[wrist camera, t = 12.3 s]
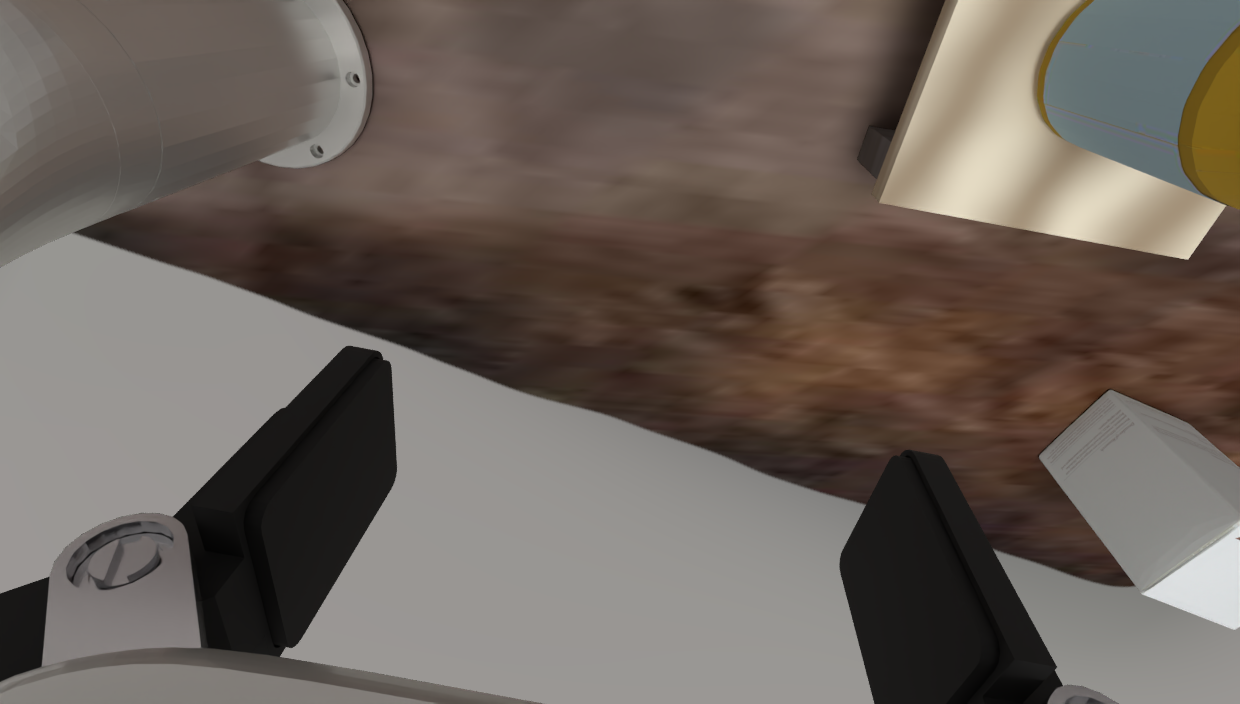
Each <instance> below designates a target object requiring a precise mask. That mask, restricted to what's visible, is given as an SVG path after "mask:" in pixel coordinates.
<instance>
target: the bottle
mask: <svg viewBox="0 0 1240 704" xmlns="http://www.w3.org/2000/svg"><path fill="white" fill-rule="evenodd" d="M1037 101H1038V104H1039V108H1040V111H1041V115H1042V118H1043V119H1044V121H1045V123H1046V124H1047V125H1048V126H1049V127H1050V129H1051V130H1052V131H1053V132H1054V133H1055V134H1056V135H1057V136H1058V137H1060V138H1062V139H1064V140H1066V141H1068V142H1070V143H1072V144H1074V145H1076V146H1078V147H1080V148H1083V149H1085V150H1088V151H1090V152H1093V153H1095V154H1098V155H1100V156H1103V157H1105V158H1108V159H1110V160H1113V161H1116V162H1118V163H1121V164H1123V165H1126V166H1128V167H1131V168H1133V169H1136V170H1138V171H1141V172H1143V173H1146V174H1148V175H1151V176H1153V177H1156V178H1158V179H1161V180H1163V181H1166V182H1168V183H1171V184H1173V185H1176V186H1178V187H1181V188H1183V189H1186V190H1188V191H1191V192H1193V193H1196V194H1198V195H1201V196H1203V197H1206V198H1208V199H1211V200H1213V201H1216V202H1218V203H1221V204H1224V205H1227V206H1231V207H1234V208H1236V209H1239V210H1240V0H1086V1H1085V2H1084V3H1083V4H1082V5H1081V6H1080V7H1079V8H1078V9H1077V10H1075V11H1074V12H1073V13H1072V14H1071V15H1070V16H1069V18H1068V19H1067V20H1066V21H1065V22H1064V24H1063V25H1062V27H1061V28H1060V30H1059V31H1058V32H1057V34H1056V35H1055V37H1054V38H1053V40H1052V41H1051V43H1050V45H1049V47H1048V49H1047V52H1046V54H1045V57H1044V59H1043V62H1042V64H1041V67H1040V71H1039V75H1038V86H1037Z"/></svg>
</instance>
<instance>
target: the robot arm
mask: <svg viewBox="0 0 1240 704" xmlns="http://www.w3.org/2000/svg"><path fill="white" fill-rule="evenodd" d="M356 75H358V76H359V79H360V82H359V81H358V80H357V78H356ZM371 101H372V71H371V66H370V60H369V55H368V51H367V48H366V46H365V43H364V40H363V37H362V34H361V31H360V29H359V27H358V25H357V23H356V22H355V20H354V18H353V16H352V14H351V12H350V10H349V8H348V7H347V6H346V4H345V3H344V2H343V0H0V268H1V267H2V266H4V265H6V264H8V263H10V262H12V261H13V260H15V259H17V258H19V257H21V256H22V255H24V254H27V253H28V252H30V251H33V250H35V249H37V248H39V247H41V246H43V245H45V244H47V243H49V242H52V241H54V240H57V239H59V238H61V237H64V236H66V235H68V234H71V233H73V232H75V231H78V230H80V229H83V228H85V227H88V226H90V225H93V224H95V223H98V222H100V221H103V220H105V219H108V218H110V217H113V216H115V215H118V214H120V213H124V212H127V211H129V210H132V209H134V208H137V207H139V206H142V205H144V204H147V203H150V202H152V201H155V200H157V199H160V198H163V197H165V196H168V195H170V194H173V193H175V192H178V191H181V190H183V189H186V188H188V187H191V186H193V185H196V184H198V183H201V182H204V181H206V180H209V179H211V178H214V177H216V176H219V175H222V174H224V173H227V172H229V171H232V170H234V169H237V168H240V167H242V166H245V165H247V164H250V163H252V162H255V161H260V162H263V163H266V164H270V165H273V166H277V167H283V168H295V169H298V168H307V167H314V166H317V165H319V164H322V163H325V162H328V161H330V160H332V159H334V158H336V157H337V156H339V155H341V154H342V153H344V152H345V151H346V150H347V149H348V148H349V147H350V146H352V145H353V144H354V142H355V141H356V139H357V138H358V137H359V135H360V134H361V132H362V131H363V128H364V126H365V123H366V121H367V118H368V116H369V112H370V107H371ZM321 148H322V149H323V150H322V149H321ZM396 472H397V461H396V442H395V424H394V407H393V388H392V370H391V364H390V362H389V361H386V360H383V357H382V354H381V353H380V352H379V351H375V350H370V349H364V348H359V347H353V346H346V347H345V348H343V349H342V350H341V351H340V352H339V353H338V354H337V355H336V356H335V357H334V358H333V360H331V362H330V363H328V365H327V366H326V367H325V368H324V369H323V370H322V371H321V372H320V373H319V374H318V375H317V376H316V377H315V378H314V379H313V380H312V381H311V382H310V383H309V384H308V385H307V386H306V387H305V388H304V389H303V390H302V391H301V392H300V393H299V394H298V395H297V397H295V399H293V401H292V402H291V403H290V404H289V405H288V406H287V407H286V408H282V409H280V410H279V411H278V412H276V413H275V414H274V415H273V416H272V417H271V418H270V419H269V420H268V421H267V422H266V423H265V424H264V425H263V426H262V427H261V428H260V429H259V430H258V431H257V432H256V433H255V434H254V435H253V436H252V437H251V438H250V439H249V440H248V441H247V442H246V443H245V444H244V445H243V446H242V447H241V448H240V449H239V450H238V451H237V452H236V453H235V454H234V455H233V456H232V457H231V458H230V459H229V460H228V461H227V462H226V463H225V464H224V465H223V466H222V468H220V469H219V470H218V471H217V472H216V474H214V476H213V477H212V478H211V479H210V480H209V481H208V482H207V483H206V484H205V485H204V486H203V487H202V488H201V489H200V490H199V491H198V492H197V493H196V494H195V495H194V496H193V497H192V498H191V499H190V500H189V501H188V502H187V503H186V504H185V505H184V506H183V507H182V508H181V509H180V510H179V511H178V512H177V513H176V514H175V515H174V516H173V517H171V516H167V515H164V514H160V513H139V514H133V515H127V516H122V517H119V518H116V519H113V520H110V521H108V522H105V523H102V524H100V525H98V526H96V527H94V528H92V529H91V530H89V531H87V532H85V533H83V534H81V535H80V536H79V537H78V538H76V539H75V540H74V541H73V542H71V543H70V544H69V545H68V546H66V547H65V549H64V550H63V551H62V553H61V554H60V555H59V556H58V557H57V559H56V560H55V561H54V564H53V567H52V570H51V573H50V577H48V578H44V579H42V580H39V581H36V582H33V583H30V584H27V585H24V586H21V587H18V588H15V589H12V590H9V591H7V592H4V593H1V594H0V704H542V703H537V702H531V701H526V700H521V699H515V698H510V697H504V696H499V695H493V694H488V693H482V692H477V691H471V690H465V689H460V688H455V687H449V686H444V685H439V684H433V683H428V682H422V681H417V680H411V679H406V678H400V677H395V676H389V675H384V674H378V673H373V672H367V671H361V670H355V669H349V668H342V667H337V666H330V665H325V664H318V663H312V662H307V661H301V660H294V659H288V658H282V657H280V655H281V654H282V652H283V651H284V649H285V647H289V648H293V647H294V646H296V644H298V642H299V641H300V640H301V638H302V637H303V635H304V633H305V632H306V630H307V628H308V627H309V625H310V623H311V622H312V620H313V618H314V617H315V615H316V613H317V612H318V610H319V608H320V607H321V605H322V603H323V602H324V600H325V598H326V596H327V595H328V593H329V591H330V590H331V588H332V586H333V585H334V583H335V582H336V580H337V578H338V577H339V575H340V573H341V572H342V570H343V568H344V566H345V565H346V563H347V562H348V560H349V558H350V557H351V555H352V553H353V552H354V550H355V548H356V547H357V545H358V543H359V542H360V540H361V538H362V537H363V535H364V533H365V531H366V530H367V528H368V527H369V525H370V523H371V522H372V520H373V518H374V516H375V515H376V513H377V511H378V510H379V508H380V507H381V505H382V503H383V502H384V500H385V498H386V497H387V495H388V493H389V492H390V490H391V488H392V486H393V484H394V481H395V478H396ZM840 572H841V577H842V580H843V584H844V588H845V592H846V596H847V600H848V603H849V607H850V611H851V615H852V619H853V623H854V627H855V630H856V634H857V638H858V642H859V646H860V650H861V653H862V657H863V661H864V665H865V669H866V673H867V676H868V681H869V684H870V688H871V692H872V696H873V700H874V704H1119V703H1117V702H1115V701H1113V700H1112V699H1110V698H1108V697H1107V696H1105V695H1103V694H1101V693H1100V692H1097V691H1094V690H1091V689H1089V688H1086V687H1083V686H1076V685H1065V686H1063V685H1062V683H1061V681H1060V679H1059V678H1058V676H1057V674H1056V672H1055V669H1056V668H1057V666H1056V664H1055V663H1054V661H1053V659H1052V657H1051V655H1050V654H1049V652H1048V650H1047V648H1046V646H1045V644H1044V642H1043V641H1042V639H1041V637H1040V635H1039V633H1038V631H1037V630H1036V628H1035V626H1034V624H1033V622H1032V621H1031V619H1030V617H1029V615H1028V613H1027V611H1026V609H1025V608H1024V606H1023V604H1022V602H1021V600H1020V598H1019V597H1018V595H1017V593H1016V591H1015V589H1014V587H1013V586H1012V584H1011V582H1010V580H1009V579H1008V577H1007V575H1006V573H1005V571H1004V569H1003V567H1002V565H1001V563H1000V562H999V560H998V558H997V557H996V554H995V552H994V551H993V549H992V547H991V545H990V543H989V541H988V540H987V538H986V536H985V534H984V532H983V530H982V529H981V527H980V525H979V523H978V521H977V519H976V518H975V516H974V514H973V512H972V510H971V508H970V507H969V505H968V503H967V501H966V499H965V497H964V496H963V494H962V492H961V490H960V488H959V486H958V485H957V483H956V481H955V479H954V477H953V475H952V474H951V472H950V470H949V468H948V466H947V464H946V463H945V461H944V460H943V458H942V457H941V456H938V455H934V454H929V453H924V452H918V451H913V450H905V451H904V452H902V453H901V455H900V456H893V457H892V458H891V459H890V461H889V462H888V464H887V466H886V468H885V470H884V472H883V474H882V476H881V478H880V480H879V481H878V483H877V485H876V487H875V489H874V491H873V493H872V495H871V497H870V499H869V501H868V503H867V504H866V506H865V508H864V510H863V512H862V514H861V516H860V518H859V520H858V522H857V524H856V526H855V528H854V529H853V531H852V533H851V535H850V537H849V539H848V541H847V543H846V545H845V547H844V549H843V551H842V553H841V557H840Z"/></svg>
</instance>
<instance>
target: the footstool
mask: <svg viewBox="0 0 1240 704" xmlns="http://www.w3.org/2000/svg"><path fill="white" fill-rule="evenodd" d="M1085 1H1086V0H945V3H944V5H943V8H942V10H941V13H940V16H939V18H938V21H937V24H936V26H935V29H934V31H933V34H932V37H931V39H930V42H929V45H928V47H927V50H926V52H925V55H924V58H923V60H922V63H921V65H920V68H919V71H918V73H917V76H916V79H915V81H914V84H913V86H912V89H911V92H910V94H909V97H908V100H907V102H906V105H905V107H904V110H903V113H902V115H901V118H900V121H899V123H898V126H897V128H896V131H894V130H889V129H883V128H878V127H872V126H869V128H868V131H867V133H866V136H865V139H864V142H863V145H862V147H861V150H860V153H859V156H858V159H857V160H858V161H859V162H860V163H861V164H862V165H863V166H864V167H865V168H866V169H867V170H868V171H869V172H870V173H871V174H872V175H873V176H874V177H875V178H876V179H877V181H876V183H875V186H874V189H873V191H872V196H873V197H874V198H875V199H876V200H877V201H878V202H879V203H883V204H889V205H894V206H900V207H905V208H910V209H916V210H921V211H927V212H932V213H938V214H943V215H948V216H954V217H959V218H965V219H970V220H976V221H981V222H986V223H992V224H997V225H1003V226H1008V227H1014V228H1019V229H1024V230H1030V231H1035V232H1041V233H1046V234H1052V235H1057V236H1062V237H1068V238H1073V239H1079V240H1084V241H1090V242H1095V243H1100V244H1106V245H1111V246H1117V247H1122V248H1128V249H1133V250H1138V251H1144V252H1149V253H1155V254H1160V255H1166V256H1171V257H1176V258H1182V259H1187V260H1188V259H1189V257H1190V256H1191V254H1192V253H1193V252H1194V250H1195V249H1196V247H1197V246H1198V244H1199V243H1200V242H1201V240H1202V239H1203V237H1204V236H1205V235H1206V233H1207V232H1208V230H1209V229H1210V227H1211V226H1212V225H1213V223H1214V222H1215V220H1216V219H1217V218H1218V216H1219V215H1220V213H1221V212H1222V210H1223V209H1224V208H1225V206H1226V205H1224V204H1221V203H1218V202H1216V201H1213V200H1211V199H1208V198H1206V197H1203V196H1201V195H1198V194H1196V193H1193V192H1191V191H1188V190H1186V189H1183V188H1181V187H1178V186H1176V185H1173V184H1171V183H1168V182H1166V181H1163V180H1161V179H1158V178H1156V177H1153V176H1151V175H1148V174H1146V173H1143V172H1141V171H1138V170H1136V169H1133V168H1131V167H1128V166H1126V165H1123V164H1121V163H1118V162H1116V161H1113V160H1110V159H1108V158H1105V157H1103V156H1100V155H1098V154H1095V153H1093V152H1090V151H1088V150H1085V149H1083V148H1080V147H1078V146H1076V145H1074V144H1072V143H1070V142H1068V141H1066V140H1064V139H1062V138H1060V137H1058V136H1057V135H1056V134H1055V133H1054V132H1053V131H1052V130H1051V129H1050V127H1049V126H1048V125H1047V124H1046V123H1045V121H1044V119H1043V118H1042V115H1041V111H1040V108H1039V104H1038V101H1037V86H1038V75H1039V71H1040V67H1041V64H1042V62H1043V59H1044V57H1045V54H1046V52H1047V49H1048V47H1049V45H1050V43H1051V41H1052V40H1053V38H1054V37H1055V35H1056V34H1057V32H1058V31H1059V30H1060V28H1061V27H1062V25H1063V24H1064V22H1065V21H1066V20H1067V19H1068V18H1069V16H1070V15H1071V14H1072V13H1073V12H1074V11H1075V10H1077V9H1078V8H1079V7H1080V6H1081V5H1082V4H1083V3H1084V2H1085Z"/></svg>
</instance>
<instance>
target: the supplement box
mask: <svg viewBox="0 0 1240 704" xmlns="http://www.w3.org/2000/svg"><path fill="white" fill-rule="evenodd" d="M1039 459H1040V460H1041V461H1042V463H1043V464H1044V465H1045V467H1046V468H1047V469H1048V471H1049V472H1050V473H1051V475H1052V476H1053V477H1054V479H1055V480H1056V481H1057V483H1058V484H1059V485H1060V487H1061V488H1062V489H1063V491H1064V492H1065V493H1066V494H1067V496H1068V497H1069V498H1070V500H1071V501H1072V502H1073V504H1074V505H1075V506H1076V508H1077V509H1078V510H1079V512H1080V513H1081V514H1082V516H1083V517H1084V518H1085V520H1086V521H1087V522H1088V523H1089V525H1090V526H1091V527H1092V529H1093V530H1094V531H1095V533H1096V534H1097V535H1098V537H1099V538H1100V539H1101V540H1102V542H1103V543H1104V544H1105V546H1106V547H1107V548H1108V550H1109V551H1110V552H1111V554H1112V555H1113V556H1114V558H1115V559H1116V560H1117V562H1118V563H1119V564H1120V566H1121V567H1122V568H1123V570H1124V571H1125V572H1126V574H1127V575H1128V576H1129V578H1130V579H1131V580H1132V582H1133V583H1134V584H1135V585H1136V587H1137V588H1138V589H1139V591H1140V592H1141V594H1143V595H1145V596H1148V597H1150V598H1153V599H1156V600H1158V601H1161V602H1164V603H1166V604H1169V605H1172V606H1174V607H1177V608H1179V609H1182V610H1184V611H1187V612H1189V613H1192V614H1195V615H1197V616H1200V617H1202V618H1205V619H1208V620H1210V621H1213V622H1215V623H1218V624H1220V625H1223V626H1225V627H1228V628H1230V629H1234V630H1235V629H1237V628H1238V627H1240V468H1239V467H1238V466H1237V465H1236V464H1235V463H1233V462H1232V461H1231V460H1230V459H1229V458H1228V457H1226V456H1225V455H1224V454H1223V453H1222V452H1221V451H1219V450H1218V449H1217V448H1216V447H1215V446H1214V445H1213V444H1211V443H1210V442H1209V441H1208V440H1207V439H1206V438H1205V437H1204V436H1202V435H1201V434H1200V433H1199V432H1198V431H1197V430H1196V429H1194V428H1193V427H1192V426H1191V425H1190V424H1188V423H1187V422H1184V421H1182V420H1180V419H1178V418H1176V417H1173V416H1171V415H1169V414H1166V413H1164V412H1162V411H1159V410H1157V409H1155V408H1152V407H1150V406H1148V405H1146V404H1143V403H1141V402H1139V401H1136V400H1134V399H1132V398H1129V397H1127V396H1125V395H1122V394H1120V393H1117V392H1115V391H1113V390H1109V391H1107V392H1106V393H1105V394H1104V395H1103V396H1102V397H1101V398H1100V399H1099V400H1097V401H1096V402H1095V403H1094V404H1093V405H1092V406H1091V407H1090V408H1089V409H1088V410H1087V411H1086V412H1085V413H1083V414H1082V415H1081V416H1080V417H1079V418H1078V419H1077V420H1076V421H1075V422H1074V423H1073V424H1071V425H1070V426H1069V427H1068V428H1067V429H1066V430H1065V431H1064V432H1063V433H1062V434H1061V435H1060V436H1059V437H1058V438H1056V439H1055V440H1054V441H1053V442H1052V443H1051V444H1050V445H1049V446H1048V447H1047V448H1046V449H1045V450H1044V451H1043V452H1042V453H1041V454H1040V456H1039Z"/></svg>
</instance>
